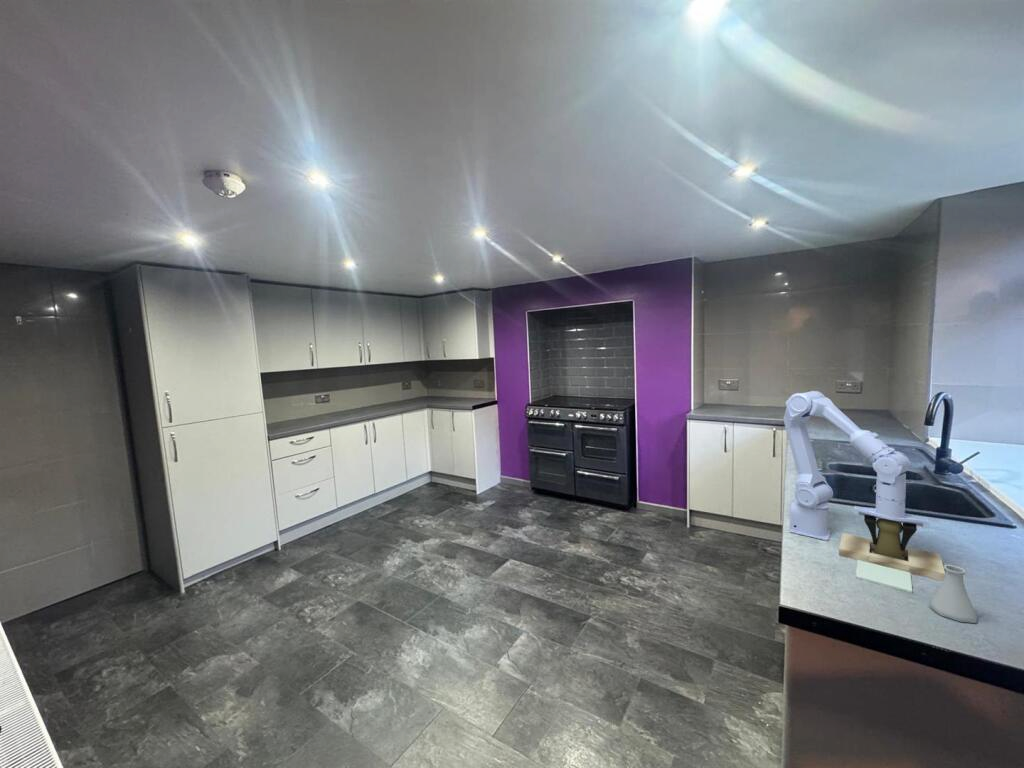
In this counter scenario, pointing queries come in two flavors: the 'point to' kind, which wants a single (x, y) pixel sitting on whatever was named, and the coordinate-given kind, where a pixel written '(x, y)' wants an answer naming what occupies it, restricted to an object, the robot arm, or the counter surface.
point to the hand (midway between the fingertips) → (888, 546)
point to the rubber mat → (884, 576)
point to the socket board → (916, 564)
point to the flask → (953, 597)
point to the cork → (889, 539)
